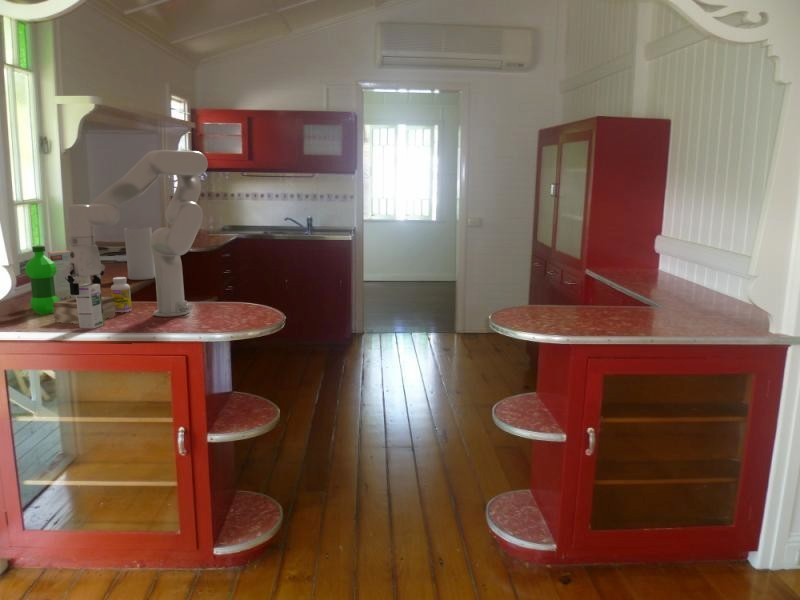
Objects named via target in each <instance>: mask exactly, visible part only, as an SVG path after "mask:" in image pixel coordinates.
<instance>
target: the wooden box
mask: <svg viewBox="0 0 800 600" xmlns="http://www.w3.org/2000/svg"><path fill="white" fill-rule="evenodd" d="M101 298H102V307H103V316H104V319H105V320H108V319H112V318H114V317H113V316H115V317H116V313H115V306H114V298H113V297H111V296H109V297H108V296H101ZM53 310H54V311H53V317H54V323H59V322H61V324H72V323H73V324H74V325H79V318H78V310H77V302H76V298H71V299H67V300H62V301H58V302H53ZM111 317H112V318H111ZM107 318H108V319H107ZM73 324H72V325H73Z"/></svg>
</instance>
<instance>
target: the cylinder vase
mask: <svg viewBox="0 0 800 600" xmlns="http://www.w3.org/2000/svg"><path fill="white" fill-rule="evenodd" d="M123 231H124V232H123V233H124V242H125V254H126V262H127V263H126V265H127V266H126V267H127V275H128V279H129V280H130V281H143V280H144V281H146V280H152V279H155V267H154V259H153V254H152V250H151V245H150V239H151V235H152V234H153V232H152V227H150V226H136V227H135V226H133V227H125V228H124V229H123Z"/></svg>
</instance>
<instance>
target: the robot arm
mask: <svg viewBox="0 0 800 600" xmlns="http://www.w3.org/2000/svg"><path fill="white" fill-rule="evenodd" d="M208 166H209V164H208V158H207V157H206V156H205V154H203V152H200V151H197V150H174V149H173V150H171V149H170V150H169V149H159V150H158V149H157V150H155V149H154V150H151V151H148V152H146V154H145V155H143V157H142V158H140V159H139V161H137V162H136V164H134V165H133V166H132V167H131V168H130V170H128V171H127V172H126V173H125V174H124V175H123V176H122V177H121V178H120V179H118V180H116V181H115V182H114V183H112V184H111V185H110V186H108V187H107V188H106V189H104V190H103V191H102V192H101V193H100V194H99V195H97V196H96V198H95V199H94V200H93V201H92V202H91V203H90V204H85V203H84V204H80V203H78V204H71V205H69V206H68V208H67V214H68V215H67V217H68V227H69V229H68V230H69V240H68V243H69V244H70V246H69V250H68V251H69V266H68V267H67V268H66V269H64V270H63V274H64V276H65V279H66V280H67V281H68V283H70V294H71V295H79V284H78V283H77V281H78V279H79V277H87V276H90V277H92V278H91V279H92V280H91V283H94V284H100V289H101V290H102V281H101V280H102V279H103V276H104V272H105V268H106V265H104V264H103V263H101V255H100V251H99V248H98V244H97V245H96V235H95V226H102V227H111V226H115V225H116V224H118V222H120V221H119V220H120V219H121V212H120V210H119V208H120V207H121V206H122V205H124V204H125V203H126V204H127V202H129V201H132V200H135V199H137V198H139V197H141V196H142V195H144V194H145V193H146V191H148V190H149V189H150V188H151V187H152V186H153V184H154V183H155V182H157V181H158V179H159V178H160V177H161V176H165V175H166V176H168V175H169V176H176V180H177V184H176V188H175V191H174V193H173V196H172V197H171V200H170V202H169V204H168V206H167V208H166V210H165V214H164V217H165V220H166V222H167V223H168V224H169V225H171V227H159V228H157V229H155V230H154V231H153V232H152V235H151V239H150V245H151V250H152V254H153V259H154V267H155V278H154V279H155V290H156V303H157V309H156V310H154V311H153V315H154V316H155V317H165V318H166V317H170V318H171V317H179V316H183V315H187V314H189V313H190V312H191V311H192V310H193V308H194V305H193V304H188V301H187V300H185V289H184V275H183V264H182V259H181V256H183V255H185V254H187V253H188V252H189V250H190V249H191V247H192V246H193V243H194V241H195V239H196V237H197V235H198V233H199V230H200V228H201V226H202V223H203V221H204V220H203V219H204V213H203V209H202V207H201V205H199V204H198V200H199V198H200V195H201V192H202V183H201V179H200V175H202V174H204V173H205V172H206V171H207V169H208ZM74 277H75V278H74Z"/></svg>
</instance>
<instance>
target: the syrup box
mask: <svg viewBox="0 0 800 600" xmlns="http://www.w3.org/2000/svg"><path fill="white" fill-rule="evenodd" d="M101 297H102V288H101V289H100V284H94V283H92V282H91V284H84V285H80V286H79V295H76V302H77V310H78V318H79V324H78V325H79V329H94V330H95V329H97V328H99V327H102V326H105V320H104V316H103V307H102V298H101Z"/></svg>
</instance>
